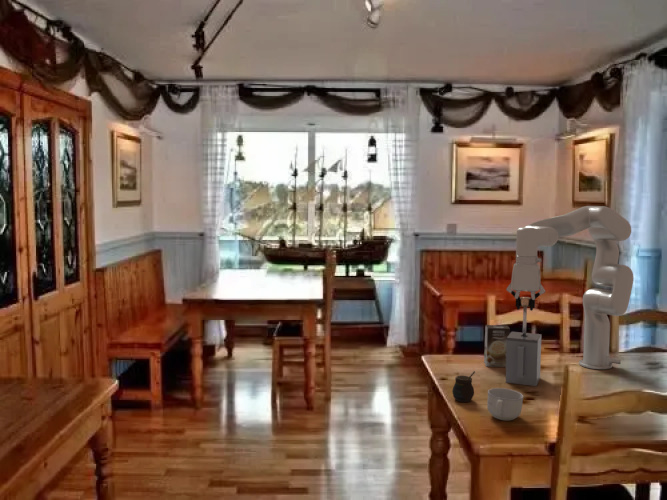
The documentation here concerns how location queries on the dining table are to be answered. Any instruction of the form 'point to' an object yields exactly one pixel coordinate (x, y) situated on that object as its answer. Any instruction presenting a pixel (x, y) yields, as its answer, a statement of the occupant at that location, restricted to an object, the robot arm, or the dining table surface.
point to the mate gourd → (463, 388)
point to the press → (523, 358)
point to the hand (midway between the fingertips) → (525, 308)
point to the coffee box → (496, 345)
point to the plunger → (524, 311)
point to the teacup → (504, 403)
